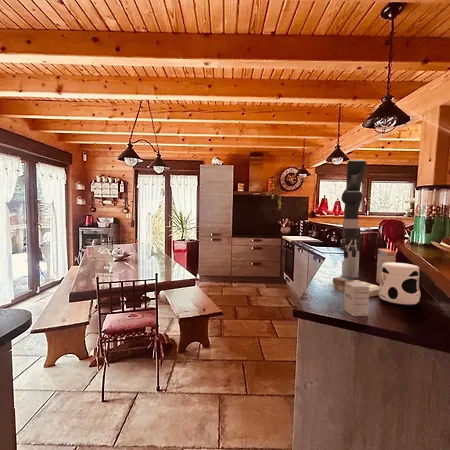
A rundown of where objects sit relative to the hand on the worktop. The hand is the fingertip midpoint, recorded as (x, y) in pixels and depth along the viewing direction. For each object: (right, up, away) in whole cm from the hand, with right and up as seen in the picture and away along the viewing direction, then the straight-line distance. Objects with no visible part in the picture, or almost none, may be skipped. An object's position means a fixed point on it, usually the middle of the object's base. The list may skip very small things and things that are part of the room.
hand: (349, 257), depth 167 cm
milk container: (+14, -19, -24) cm, 33 cm away
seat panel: (+3, -18, -4) cm, 19 cm away
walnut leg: (-5, -15, -8) cm, 17 cm away
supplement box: (-13, -20, -38) cm, 45 cm away
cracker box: (+24, -18, +8) cm, 31 cm away
